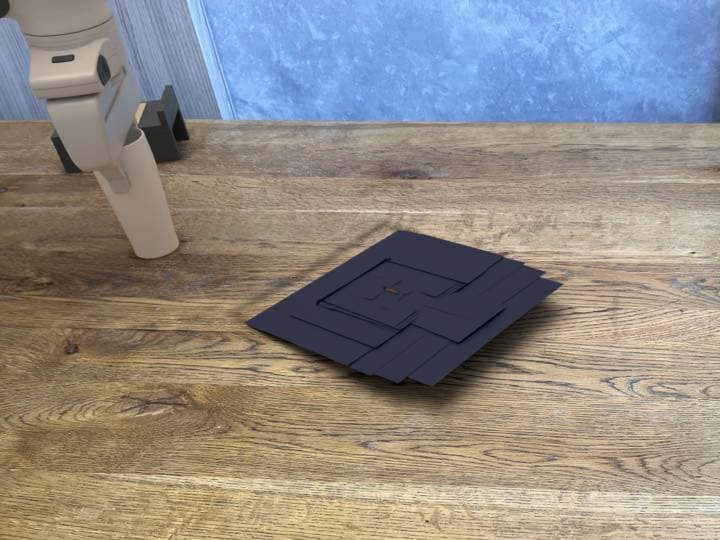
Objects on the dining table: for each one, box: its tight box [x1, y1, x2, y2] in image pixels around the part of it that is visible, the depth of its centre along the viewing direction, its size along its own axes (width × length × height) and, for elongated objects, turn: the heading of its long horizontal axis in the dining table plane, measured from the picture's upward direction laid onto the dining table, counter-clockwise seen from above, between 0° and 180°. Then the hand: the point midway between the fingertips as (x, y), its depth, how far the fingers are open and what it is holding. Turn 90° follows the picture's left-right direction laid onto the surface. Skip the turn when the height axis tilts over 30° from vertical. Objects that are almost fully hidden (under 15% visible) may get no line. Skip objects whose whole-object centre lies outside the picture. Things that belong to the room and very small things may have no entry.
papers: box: [244, 229, 564, 387], centre depth 90 cm, size 24×30×4 cm
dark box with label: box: [50, 84, 191, 174], centre depth 121 cm, size 16×10×8 cm, turn 102°
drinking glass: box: [92, 127, 180, 259], centre depth 98 cm, size 7×7×15 cm
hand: (130, 172), depth 96 cm, fingers open, 8 cm apart
